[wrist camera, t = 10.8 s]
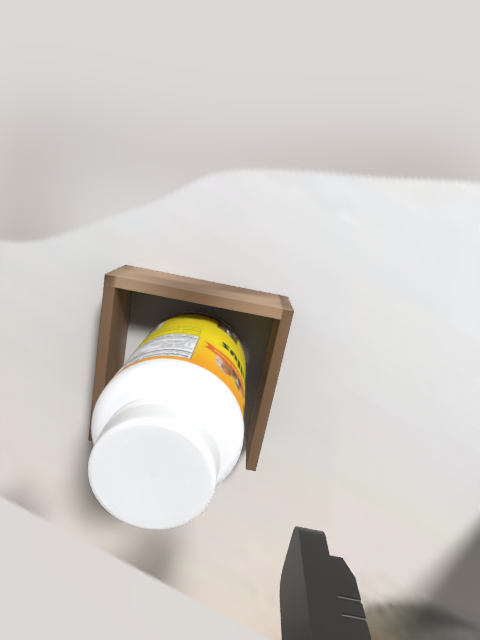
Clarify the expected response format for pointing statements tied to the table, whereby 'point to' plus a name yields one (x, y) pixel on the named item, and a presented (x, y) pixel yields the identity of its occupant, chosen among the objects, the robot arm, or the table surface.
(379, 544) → the table surface
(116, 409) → the supplement bottle
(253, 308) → the walnut u rest
